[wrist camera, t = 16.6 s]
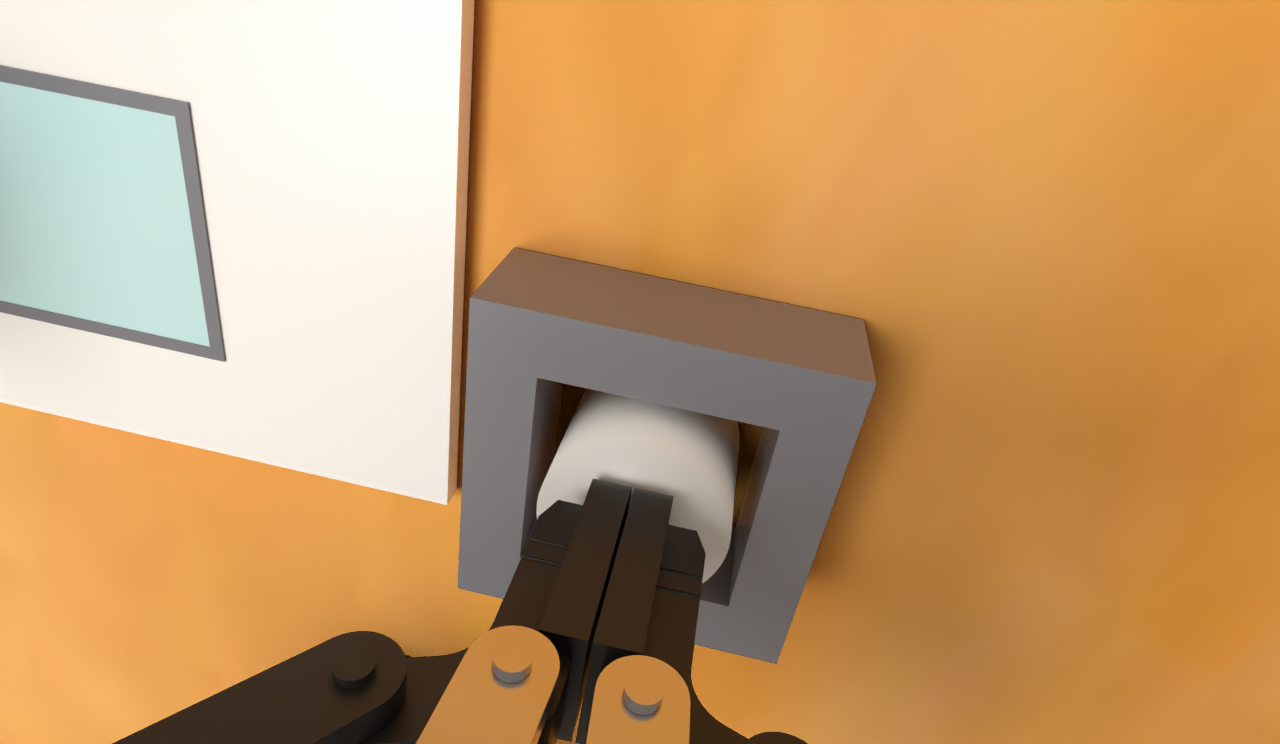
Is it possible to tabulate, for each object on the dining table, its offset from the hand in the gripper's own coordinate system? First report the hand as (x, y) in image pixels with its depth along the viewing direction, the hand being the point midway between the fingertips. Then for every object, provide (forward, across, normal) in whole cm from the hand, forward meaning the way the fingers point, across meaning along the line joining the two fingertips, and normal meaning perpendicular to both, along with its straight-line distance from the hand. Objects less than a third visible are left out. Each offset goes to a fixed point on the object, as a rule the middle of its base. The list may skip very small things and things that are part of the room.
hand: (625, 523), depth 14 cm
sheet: (+3, +13, -2) cm, 14 cm away
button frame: (+3, 0, 0) cm, 3 cm away
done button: (+3, 0, 0) cm, 3 cm away
